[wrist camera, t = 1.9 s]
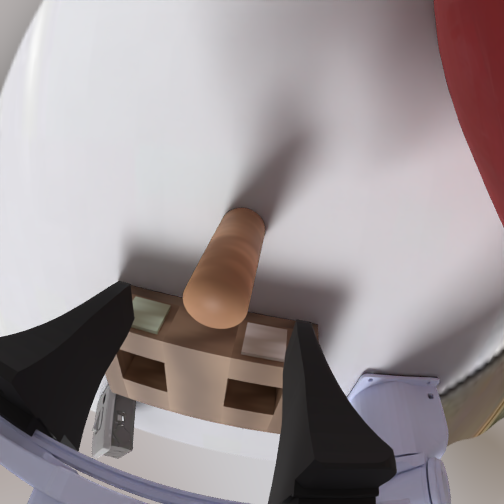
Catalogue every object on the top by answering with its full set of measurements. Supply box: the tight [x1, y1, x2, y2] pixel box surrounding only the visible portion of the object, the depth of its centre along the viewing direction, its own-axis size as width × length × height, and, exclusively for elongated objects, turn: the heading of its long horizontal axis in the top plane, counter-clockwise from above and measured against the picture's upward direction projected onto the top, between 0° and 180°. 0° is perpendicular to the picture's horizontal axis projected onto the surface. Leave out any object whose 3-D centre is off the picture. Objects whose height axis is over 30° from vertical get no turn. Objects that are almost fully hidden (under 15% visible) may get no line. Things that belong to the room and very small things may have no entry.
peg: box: [183, 208, 265, 329], centre depth 17 cm, size 3×3×8 cm
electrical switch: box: [92, 385, 136, 459], centre depth 31 cm, size 9×5×9 cm, turn 144°
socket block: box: [105, 285, 318, 434], centre depth 24 cm, size 17×10×5 cm, turn 81°
